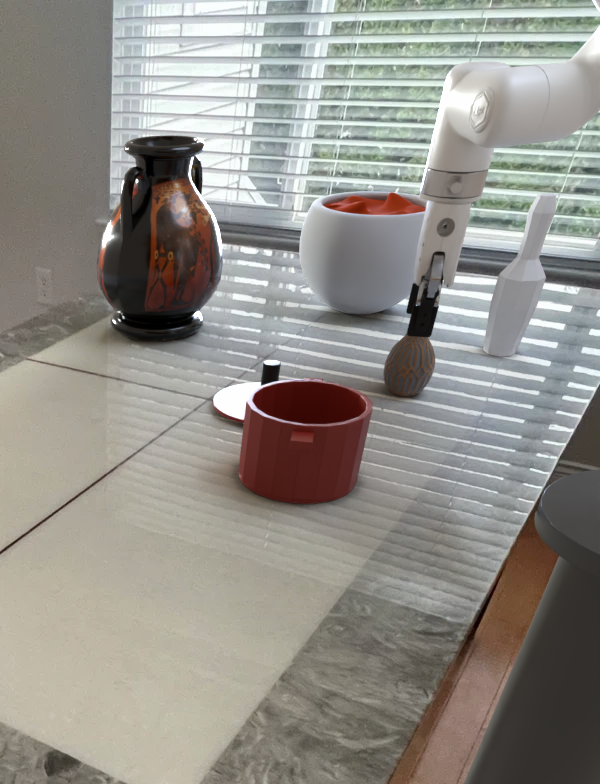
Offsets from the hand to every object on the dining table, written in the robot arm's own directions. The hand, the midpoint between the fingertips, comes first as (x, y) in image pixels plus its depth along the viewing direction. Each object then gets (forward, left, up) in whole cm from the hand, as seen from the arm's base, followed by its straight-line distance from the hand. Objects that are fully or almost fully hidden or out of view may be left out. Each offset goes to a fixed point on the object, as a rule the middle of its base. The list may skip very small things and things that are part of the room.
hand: (417, 324), depth 119 cm
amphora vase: (+42, -22, -10) cm, 48 cm away
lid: (+19, +11, -9) cm, 24 cm away
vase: (0, 0, -10) cm, 10 cm away
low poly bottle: (-15, -21, -10) cm, 27 cm away
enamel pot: (+13, +32, -9) cm, 36 cm away
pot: (+8, -41, -10) cm, 43 cm away
